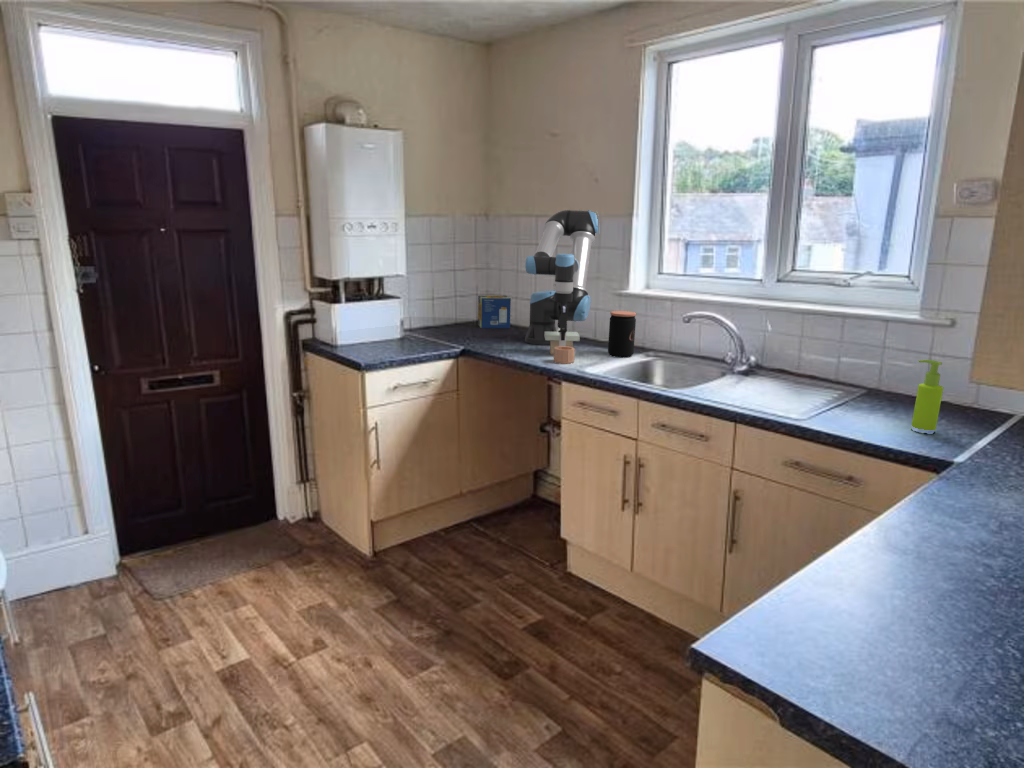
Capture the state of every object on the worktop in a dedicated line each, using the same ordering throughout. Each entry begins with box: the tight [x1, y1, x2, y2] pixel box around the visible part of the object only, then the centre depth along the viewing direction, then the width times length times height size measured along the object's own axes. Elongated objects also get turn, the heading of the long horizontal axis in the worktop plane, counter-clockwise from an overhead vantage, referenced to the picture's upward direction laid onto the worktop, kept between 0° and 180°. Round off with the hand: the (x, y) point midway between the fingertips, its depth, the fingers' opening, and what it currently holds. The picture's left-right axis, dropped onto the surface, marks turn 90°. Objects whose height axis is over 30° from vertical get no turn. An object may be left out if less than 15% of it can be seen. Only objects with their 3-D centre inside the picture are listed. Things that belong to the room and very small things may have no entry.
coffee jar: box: [607, 310, 637, 358], centre depth 279 cm, size 11×11×18 cm
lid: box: [544, 331, 581, 342], centre depth 279 cm, size 10×14×2 cm
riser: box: [549, 340, 574, 356], centre depth 280 cm, size 6×9×6 cm, turn 90°
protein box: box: [477, 295, 512, 329], centre depth 344 cm, size 10×15×16 cm
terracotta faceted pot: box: [553, 346, 576, 365], centre depth 265 cm, size 8×8×6 cm
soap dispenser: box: [911, 359, 944, 430], centre depth 185 cm, size 6×7×20 cm
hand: (561, 345), depth 280 cm, fingers closed on lid, 10 cm apart
